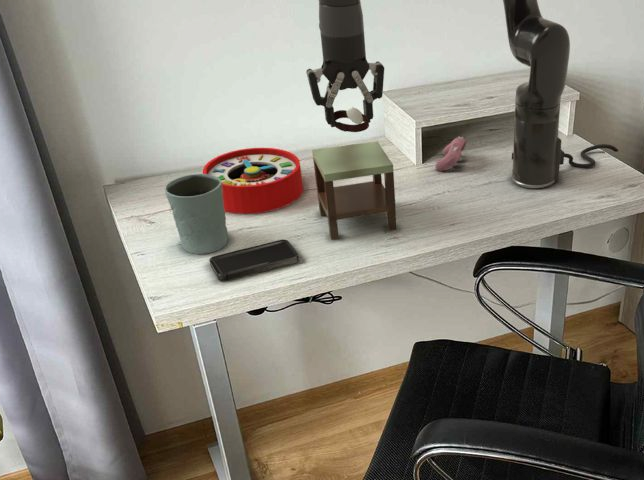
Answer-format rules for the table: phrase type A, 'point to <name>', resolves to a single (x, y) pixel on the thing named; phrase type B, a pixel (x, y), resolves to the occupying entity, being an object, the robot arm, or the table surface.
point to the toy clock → (257, 179)
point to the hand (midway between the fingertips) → (350, 123)
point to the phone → (253, 260)
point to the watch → (354, 117)
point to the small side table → (355, 196)
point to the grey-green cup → (198, 212)
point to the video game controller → (451, 154)
